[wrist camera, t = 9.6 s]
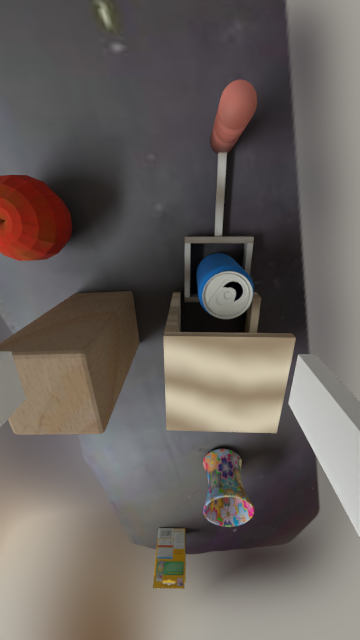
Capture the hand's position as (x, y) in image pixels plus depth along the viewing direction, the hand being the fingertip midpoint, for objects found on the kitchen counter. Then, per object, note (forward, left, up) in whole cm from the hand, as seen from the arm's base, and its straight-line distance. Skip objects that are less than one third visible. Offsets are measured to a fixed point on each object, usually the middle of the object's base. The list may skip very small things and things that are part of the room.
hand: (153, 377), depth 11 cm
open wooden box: (+11, +6, -29) cm, 32 cm away
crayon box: (+71, -2, -29) cm, 77 cm away
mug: (+44, +10, -29) cm, 54 cm away
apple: (-7, -19, -29) cm, 36 cm away
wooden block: (+9, -12, -29) cm, 33 cm away
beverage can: (+1, +6, -29) cm, 30 cm away
